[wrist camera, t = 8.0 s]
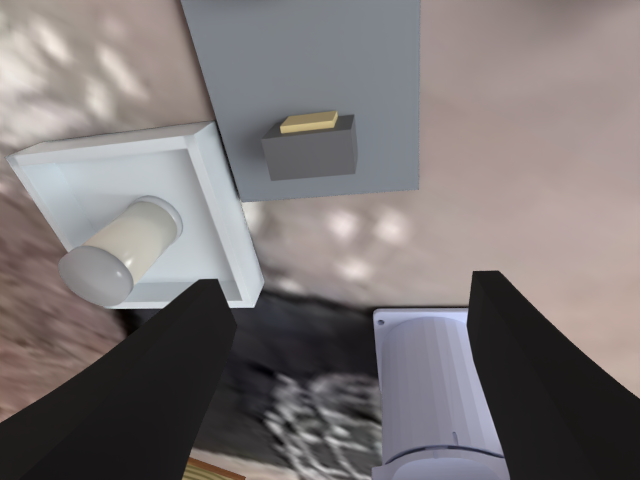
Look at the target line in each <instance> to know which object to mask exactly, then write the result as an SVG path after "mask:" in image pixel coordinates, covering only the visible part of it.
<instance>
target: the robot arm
mask: <svg viewBox="0 0 640 480" xmlns="http://www.w3.org/2000/svg"><path fill="white" fill-rule="evenodd" d="M379 320H383V321H379ZM373 322H374V333H375V344H376V355H377V366H378V377H379V388H380V392H381V393H382V466H379V467H373V468H372V480H640V399H639V398H638V397H637V396H635V395H634V394H633V393H631V392H630V391H629V390H627V389H626V388H625V387H624V386H622V385H621V384H620V383H619V382H617V381H616V380H615V379H614V378H613V377H611V376H610V375H609V374H608V373H607V372H605V371H604V370H603V369H602V368H601V367H599V366H598V365H597V364H596V363H595V362H594V361H592V360H591V359H590V358H589V357H588V356H587V355H585V354H584V353H583V352H582V351H581V350H580V349H579V348H578V347H576V346H575V345H574V344H573V343H572V342H571V341H570V340H569V339H568V338H567V337H565V336H564V335H563V334H562V333H561V332H560V331H559V330H558V329H557V328H556V327H555V326H554V325H553V324H552V323H551V322H549V321H548V320H547V319H546V318H545V317H544V316H543V315H542V314H541V313H540V312H539V311H538V310H537V309H536V308H535V307H534V306H533V305H532V304H531V303H530V302H529V301H528V300H527V299H526V298H525V297H524V296H523V295H522V294H521V293H520V292H519V291H518V290H517V289H516V288H515V287H514V286H513V285H512V284H511V283H510V281H509V280H508V279H507V278H506V277H505V276H504V275H503V274H502V273H501V272H499V271H473V275H472V283H471V291H470V299H469V307H468V308H411V309H376V310H375V311H374V312H373ZM236 328H237V324H236V322H235V319H234V317H233V315H232V312H231V310H230V307H229V305H228V302H227V300H226V298H225V295H224V293H223V290H222V288H221V285H220V283H219V281H218V279H199V280H198V281H196V282H195V283H193V284H192V285H191V286H190V287H188V288H187V289H186V290H185V291H183V292H182V293H181V294H180V295H178V296H177V297H176V298H175V299H174V300H172V301H171V302H170V303H169V304H168V305H166V306H165V307H164V308H163V309H162V310H160V311H159V312H158V313H157V314H156V315H154V316H153V317H152V318H151V319H150V320H148V321H147V322H146V323H145V324H143V325H142V326H141V327H140V328H139V329H137V330H136V331H135V332H134V333H132V334H131V335H130V336H128V337H127V338H126V339H125V340H123V341H122V342H121V343H119V344H118V345H117V346H116V347H114V348H113V349H112V350H110V351H109V352H108V353H106V354H105V355H104V356H103V357H101V358H100V359H99V360H97V361H96V362H94V363H93V364H92V365H90V366H89V367H87V368H86V369H85V370H83V371H82V372H80V373H79V374H77V375H76V376H74V377H73V378H71V379H70V380H68V381H67V382H66V383H64V384H63V385H61V386H60V387H58V388H57V389H55V390H53V391H52V392H50V393H49V394H47V395H46V396H44V397H42V398H41V399H39V400H37V401H36V402H34V403H32V404H31V405H29V406H27V407H26V408H24V409H23V410H21V411H19V412H18V413H16V414H14V415H13V416H11V417H9V418H8V419H6V420H4V421H3V422H1V423H0V480H182V478H183V475H184V472H185V468H186V465H187V462H188V459H189V455H190V452H191V449H192V446H193V443H194V441H195V438H196V435H197V433H198V430H199V428H200V425H201V423H202V420H203V418H204V416H205V413H206V411H207V408H208V406H209V404H210V401H211V399H212V396H213V394H214V392H215V389H216V387H217V385H218V382H219V380H220V377H221V375H222V372H223V370H224V367H225V365H226V362H227V360H228V357H229V354H230V350H231V347H232V343H233V340H234V336H235V332H236Z"/></svg>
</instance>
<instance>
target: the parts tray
mask: <svg viewBox="0 0 640 480" xmlns="http://www.w3.org/2000/svg"><path fill="white" fill-rule="evenodd" d="M5 158H6V160H7V161H8V163H9V164H10V166H11V167H12V169H13V170H14V172H15V173H16V175H17V176H18V178H19V179H20V181H21V182H22V184H23V185H24V187H25V188H26V190H27V191H28V193H29V194H30V196H31V197H32V199H33V200H34V202H35V203H36V205H37V206H38V208H39V209H40V211H41V212H42V214H43V215H44V217H45V218H46V220H47V221H48V223H49V224H50V226H51V227H52V229H53V230H54V232H55V233H56V235H57V236H58V238H59V239H60V241H61V242H62V244H63V245H64V247H65V248H66V250H67V251H68V252H70V251H71V250H72V249H74V248H76V247H79V246H81V245H82V244H83V243H85V242H86V241H87V240H88V239H90V238H91V237H92V236H93V235H95V234H96V233H97V232H99V231H100V230H101V229H102V228H104V227H105V226H106V225H107V224H109V223H110V222H111V221H112V220H114V219H115V218H116V217H117V216H119V215H120V214H121V213H122V212H124V211H125V210H126V209H127V207H128V206H129V205H130V204H131V203H132V202H133V201H135V200H136V199H137V198H139V197H141V196H147V195H150V196H156V197H159V198H161V199H164V200H165V201H167V202H168V203H170V204H171V205H172V206H173V207H174V208H175V209H176V210H177V211H178V213H179V214H180V216H181V218H182V221H183V232H182V234H181V236H180V237H179V238H178V239H177V240H176V241H175V243H173V244H172V245H170V246H169V247H168V248H167V249H166V250H165V251H164V253H163V254H162V255H161V256H160V257H159V258H158V259H157V261H156V262H155V263H154V264H153V265H152V266H151V267H150V268H149V270H148V271H147V272H146V273H145V274H144V275H143V276H142V278H141V279H140V280H139V281H138V282H137V283H136V284H135V285H134V287H133V290H132V292H131V293H130V294H129V295H128V297H127V298H126V299H125V300H124V301H123V302H122V303H121V304H119V305H116V306H104V307H105V309H125V308H164V307H165V306H166V305H168V304H169V303H170V302H171V301H172V300H174V299H175V298H176V297H177V296H178V295H180V294H181V293H182V292H183V291H185V290H186V289H187V288H188V287H190V286H191V285H192V284H193V283H195V282H196V281H198V280H199V279H218V281H219V283H220V285H221V288H222V290H223V293H224V295H225V298H226V300H227V302H228V305H229V307H230V308H254V306H255V304H256V301H257V299H258V297H259V294H260V292H261V289H262V287H263V285H264V279H263V276H262V272H261V269H260V266H259V262H258V259H257V256H256V253H255V249H254V246H253V243H252V240H251V236H250V233H249V230H248V227H247V223H246V220H245V217H244V213H243V210H242V207H241V204H240V200H239V197H238V194H237V191H236V187H235V184H234V181H233V177H232V174H231V171H230V168H229V164H228V161H227V158H226V155H225V151H224V148H223V145H222V142H221V138H220V135H219V132H218V128H217V125H216V122H215V120H214V121H206V122H198V123H190V124H182V125H174V126H166V127H159V128H151V129H143V130H135V131H127V132H119V133H111V134H103V135H95V136H87V137H79V138H71V139H63V140H55V141H47V142H41V143H39V144H36V145H34V146H31V147H29V148H26V149H24V150H21V151H19V152H16V153H13V154H11V155H8V156H6V157H5Z"/></svg>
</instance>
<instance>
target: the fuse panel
mask: <svg viewBox="0 0 640 480" xmlns="http://www.w3.org/2000/svg"><path fill="white" fill-rule="evenodd" d="M181 3H182V7H183V10H184V13H185V17H186V20H187V23H188V27H189V30H190V33H191V36H192V40H193V43H194V46H195V50H196V53H197V56H198V60H199V63H200V66H201V69H202V73H203V76H204V79H205V83H206V86H207V89H208V93H209V96H210V99H211V102H212V106H213V109H214V112H215V116H216V119H217V122H218V126H219V129H220V132H221V135H222V139H223V142H224V145H225V149H226V152H227V155H228V159H229V162H230V165H231V168H232V172H233V175H234V178H235V182H236V185H237V188H238V192H239V195H240V198H241V201H242V202H254V201H268V200H281V199H295V198H309V197H323V196H336V195H350V194H364V193H378V192H391V191H405V190H419V95H420V0H181Z"/></svg>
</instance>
